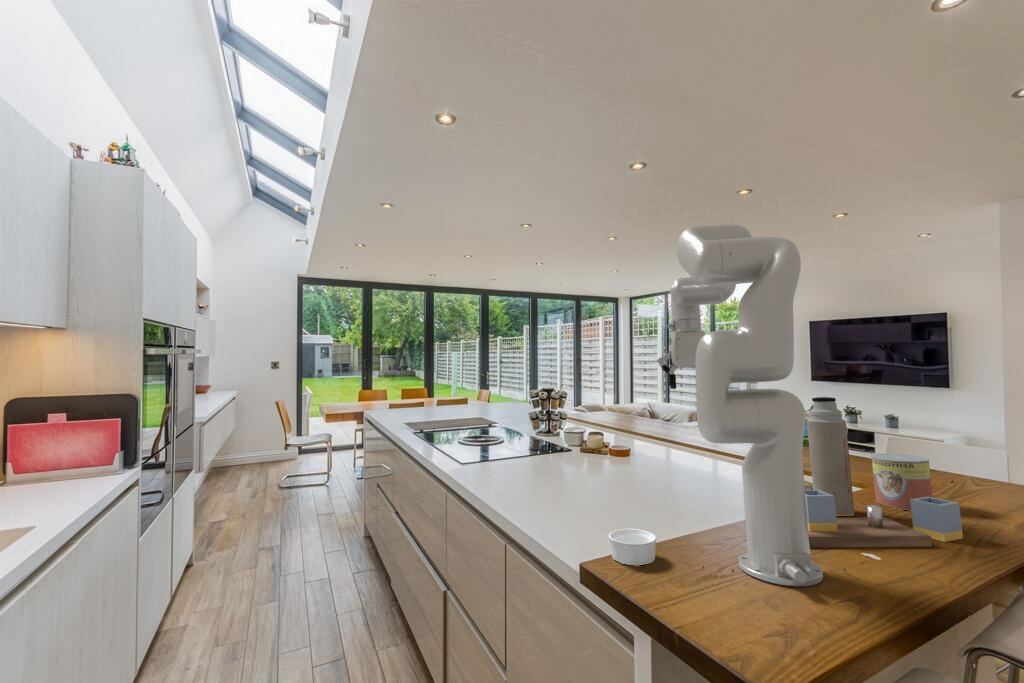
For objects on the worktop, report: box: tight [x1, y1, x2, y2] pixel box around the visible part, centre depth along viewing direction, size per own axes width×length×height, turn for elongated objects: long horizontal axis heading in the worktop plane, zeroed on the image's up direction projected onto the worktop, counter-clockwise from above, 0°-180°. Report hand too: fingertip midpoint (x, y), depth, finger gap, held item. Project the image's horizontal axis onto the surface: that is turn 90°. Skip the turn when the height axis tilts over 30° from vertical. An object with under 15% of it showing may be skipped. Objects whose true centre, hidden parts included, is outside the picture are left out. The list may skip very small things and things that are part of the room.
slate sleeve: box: [910, 497, 964, 543], centre depth 93 cm, size 5×5×7 cm
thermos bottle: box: [806, 396, 855, 515], centre depth 111 cm, size 8×8×28 cm
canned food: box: [870, 453, 934, 511], centre depth 114 cm, size 11×11×12 cm
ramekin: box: [608, 528, 657, 566], centre depth 86 cm, size 9×9×4 cm
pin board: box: [808, 504, 933, 548], centre depth 94 cm, size 12×24×6 cm, turn 86°
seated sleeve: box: [805, 489, 837, 531], centre depth 95 cm, size 5×5×7 cm
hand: (690, 388), depth 125 cm, fingers open, 9 cm apart
